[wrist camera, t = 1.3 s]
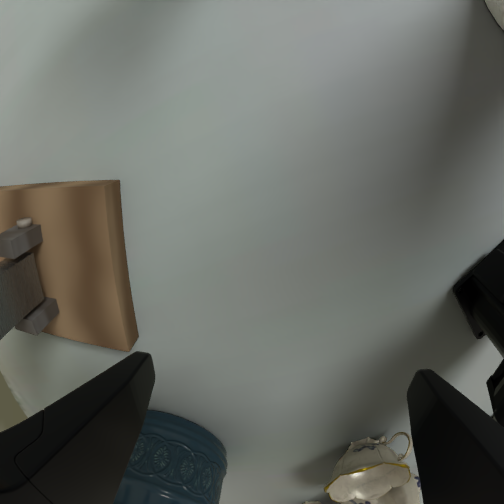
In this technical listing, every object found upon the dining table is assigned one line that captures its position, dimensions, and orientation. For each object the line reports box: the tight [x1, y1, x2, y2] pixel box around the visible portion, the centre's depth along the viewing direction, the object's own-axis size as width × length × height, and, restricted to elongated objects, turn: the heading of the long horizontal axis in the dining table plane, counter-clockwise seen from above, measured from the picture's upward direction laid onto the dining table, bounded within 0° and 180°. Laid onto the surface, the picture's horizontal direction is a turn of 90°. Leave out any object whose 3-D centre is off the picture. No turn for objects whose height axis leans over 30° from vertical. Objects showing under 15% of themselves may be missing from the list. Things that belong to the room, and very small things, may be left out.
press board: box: [0, 180, 139, 352], centre depth 18 cm, size 16×12×7 cm
